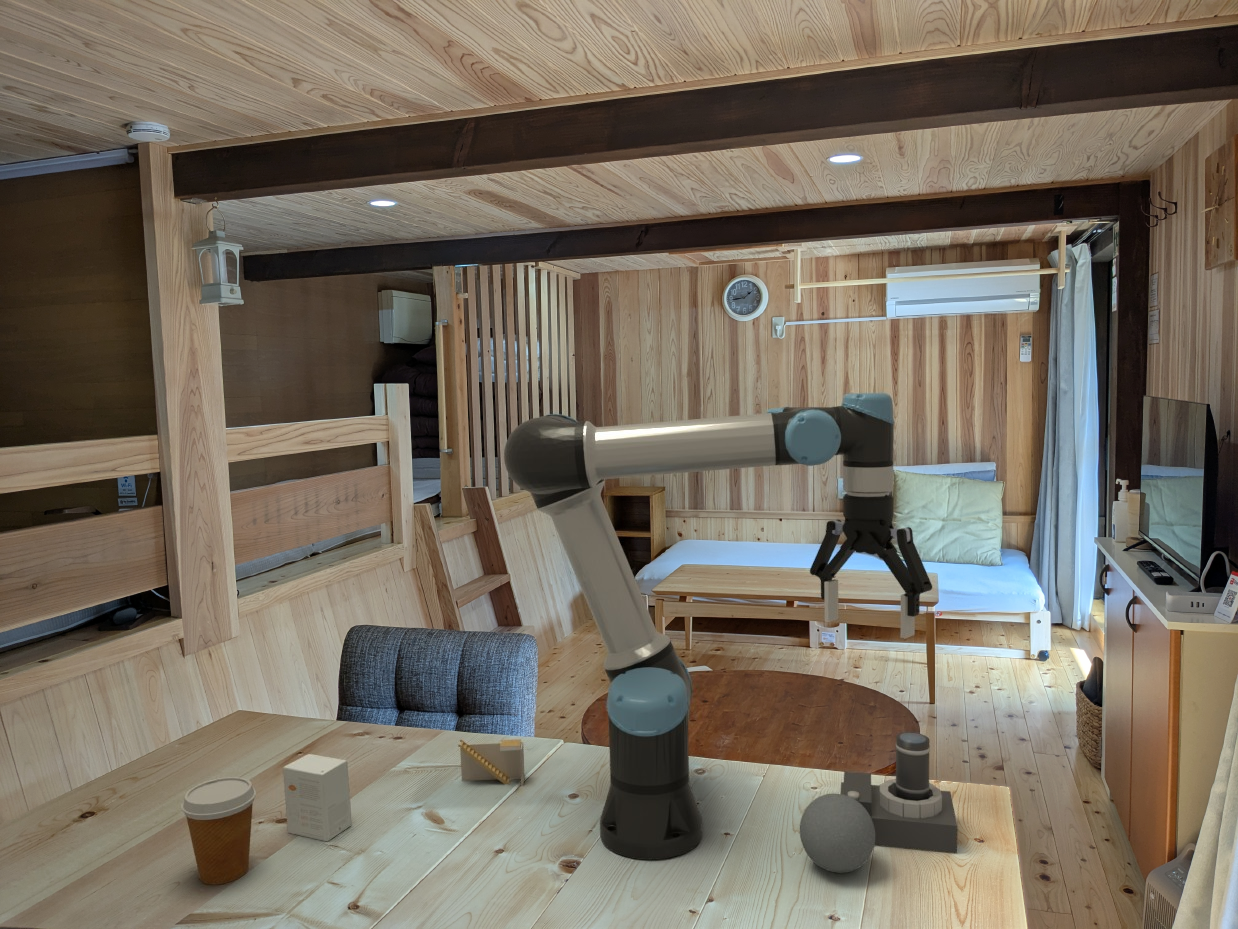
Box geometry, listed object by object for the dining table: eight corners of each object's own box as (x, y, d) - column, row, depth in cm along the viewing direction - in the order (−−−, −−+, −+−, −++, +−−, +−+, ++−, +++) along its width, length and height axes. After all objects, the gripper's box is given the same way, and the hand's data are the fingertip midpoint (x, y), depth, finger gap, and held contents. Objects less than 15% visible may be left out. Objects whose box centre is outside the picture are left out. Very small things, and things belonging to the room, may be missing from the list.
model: (523, 788, 152) (521, 743, 152) (459, 790, 152) (457, 746, 151) (524, 780, 156) (523, 736, 155) (462, 782, 155) (460, 739, 155)
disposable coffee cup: (214, 898, 121) (208, 811, 120) (172, 880, 126) (166, 796, 125) (275, 865, 129) (270, 784, 128) (233, 849, 134) (228, 770, 133)
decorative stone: (813, 843, 131) (813, 775, 130) (883, 859, 126) (883, 790, 125) (789, 876, 122) (788, 804, 121) (863, 895, 117) (863, 820, 116)
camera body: (839, 841, 131) (838, 797, 130) (841, 807, 141) (840, 766, 141) (957, 853, 127) (957, 808, 126) (950, 817, 137) (950, 774, 137)
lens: (919, 815, 130) (920, 747, 129) (889, 805, 133) (889, 738, 132) (935, 803, 133) (935, 737, 132) (905, 793, 136) (905, 728, 135)
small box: (352, 826, 140) (349, 760, 139) (327, 843, 135) (322, 774, 134) (313, 817, 143) (309, 752, 142) (286, 833, 138) (282, 766, 137)
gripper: (956, 496, 133) (955, 638, 135) (815, 485, 152) (816, 610, 154) (930, 502, 128) (929, 649, 130) (787, 489, 147) (788, 618, 149)
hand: (868, 628), depth 142 cm, fingers open, 13 cm apart
